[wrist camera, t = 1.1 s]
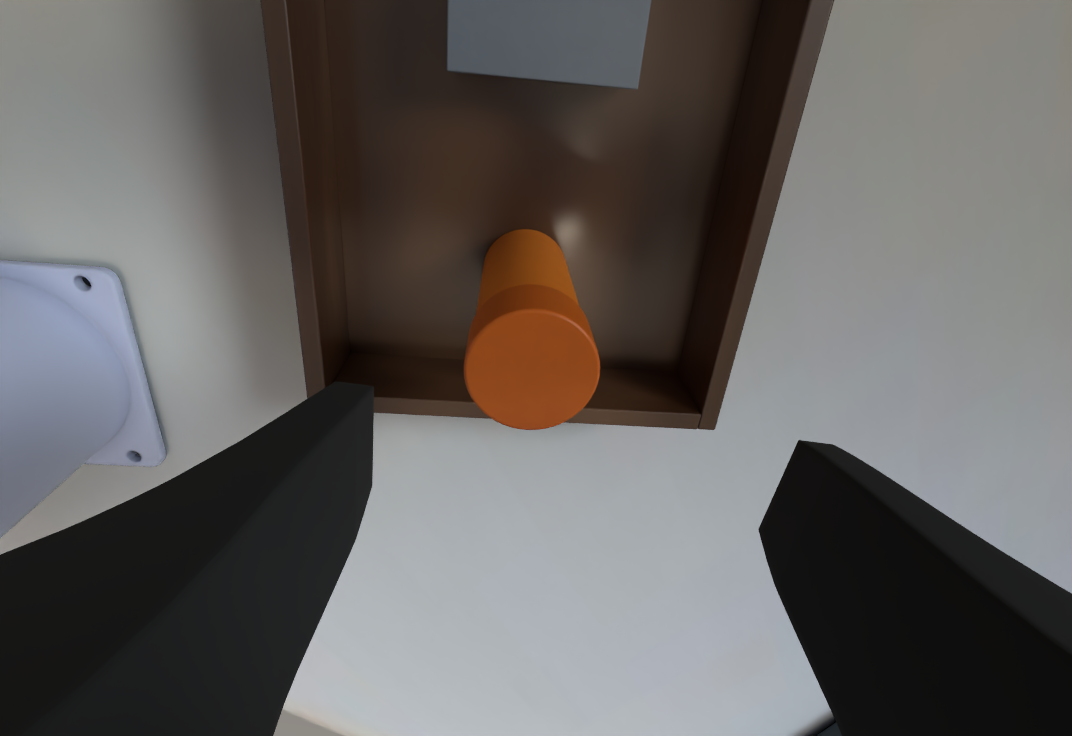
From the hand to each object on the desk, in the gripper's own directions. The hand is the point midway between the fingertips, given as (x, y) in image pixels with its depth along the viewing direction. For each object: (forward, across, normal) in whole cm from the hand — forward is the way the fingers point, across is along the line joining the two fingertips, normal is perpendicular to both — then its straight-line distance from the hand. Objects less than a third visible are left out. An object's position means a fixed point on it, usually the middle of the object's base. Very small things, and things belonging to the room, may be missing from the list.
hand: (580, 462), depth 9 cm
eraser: (+11, +2, -7) cm, 13 cm away
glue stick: (+10, +1, 0) cm, 11 cm away
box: (+11, +1, -3) cm, 12 cm away
